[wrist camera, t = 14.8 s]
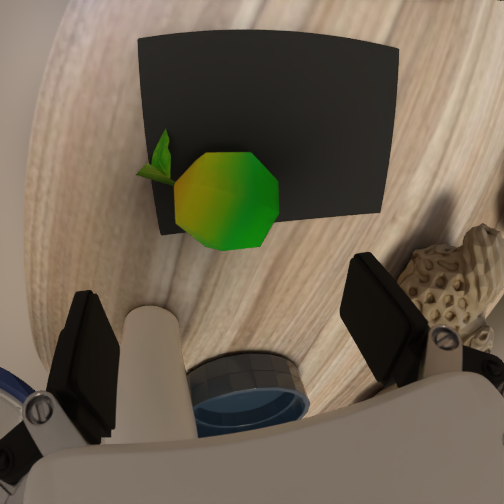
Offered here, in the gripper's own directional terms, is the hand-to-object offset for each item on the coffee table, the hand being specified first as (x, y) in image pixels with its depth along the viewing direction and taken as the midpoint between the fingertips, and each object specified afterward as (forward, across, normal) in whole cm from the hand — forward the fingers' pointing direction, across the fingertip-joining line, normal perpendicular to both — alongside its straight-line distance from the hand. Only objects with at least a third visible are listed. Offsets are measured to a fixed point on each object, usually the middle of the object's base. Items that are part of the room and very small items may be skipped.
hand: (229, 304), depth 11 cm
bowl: (+13, -2, +27) cm, 30 cm away
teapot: (+12, -22, +13) cm, 28 cm away
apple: (+12, 0, 0) cm, 12 cm away
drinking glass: (+13, +6, +13) cm, 19 cm away
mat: (+12, -6, -3) cm, 14 cm away
